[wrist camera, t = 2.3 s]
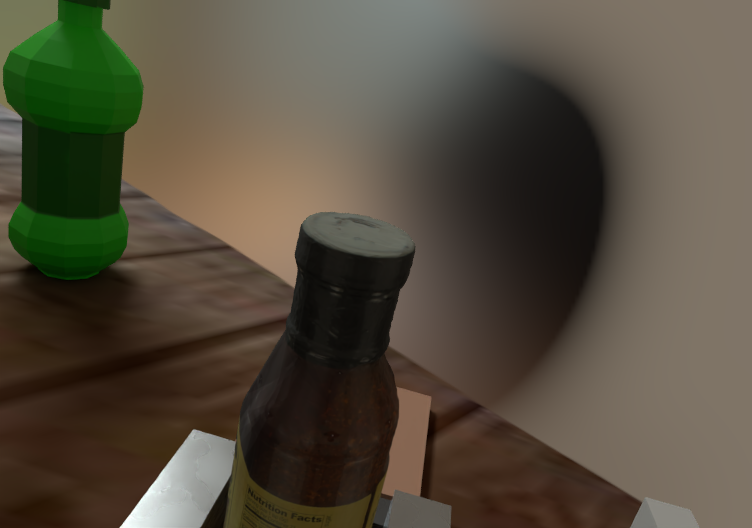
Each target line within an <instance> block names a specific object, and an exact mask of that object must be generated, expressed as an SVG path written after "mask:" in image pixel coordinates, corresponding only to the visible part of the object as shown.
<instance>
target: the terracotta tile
mask: <svg viewBox="0 0 752 528" xmlns="http://www.w3.org/2000/svg"><path fill="white" fill-rule="evenodd" d="M396 388H397V396H398V398H399V419H398V424H397V428H396V431H395V435H394V437H393V441H392V446H391V448H390V452H389V456H390V459H389V466H388V470H387V474H386V478H385V481H384V485H383V489H382V492H381V496H380V497H381V498H384V499H387V500H392V497H393V494H394V490H395V489H396V490H399V491H402V492H406V493H409V494H412V495H416V496H419V497H420V492H421V483H422V474H423V466H424V457H425V448H426V439H427V430H428V421H429V413H430V404H431V397H430V396H426V395H423V394H419V393H416V392H412V391H409V390H405V389H402V388H398V387H396ZM235 442H236V440H235Z"/></svg>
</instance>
